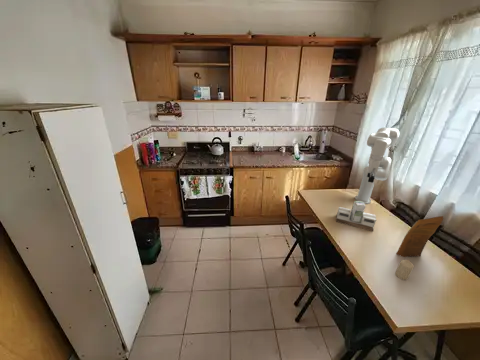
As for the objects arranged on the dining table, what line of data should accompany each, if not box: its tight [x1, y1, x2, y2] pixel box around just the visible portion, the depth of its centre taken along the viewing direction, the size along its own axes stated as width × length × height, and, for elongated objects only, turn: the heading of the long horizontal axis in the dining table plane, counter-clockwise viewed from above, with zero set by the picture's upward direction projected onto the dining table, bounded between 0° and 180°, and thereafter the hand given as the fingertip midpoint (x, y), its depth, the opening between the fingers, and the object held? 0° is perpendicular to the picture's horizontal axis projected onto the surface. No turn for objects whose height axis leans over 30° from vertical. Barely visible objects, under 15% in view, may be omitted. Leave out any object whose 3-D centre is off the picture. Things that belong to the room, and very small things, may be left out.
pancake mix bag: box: [395, 215, 444, 258], centre depth 120 cm, size 7×19×28 cm, turn 95°
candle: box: [395, 259, 415, 281], centre depth 109 cm, size 6×6×10 cm
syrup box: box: [350, 200, 366, 222], centre depth 151 cm, size 6×6×14 cm
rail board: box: [335, 206, 377, 232], centre depth 153 cm, size 10×24×8 cm, turn 65°
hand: (369, 179), depth 152 cm, fingers open, 9 cm apart
